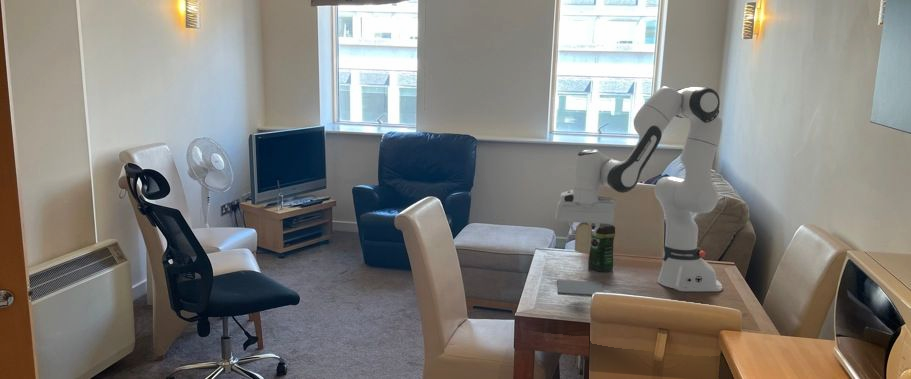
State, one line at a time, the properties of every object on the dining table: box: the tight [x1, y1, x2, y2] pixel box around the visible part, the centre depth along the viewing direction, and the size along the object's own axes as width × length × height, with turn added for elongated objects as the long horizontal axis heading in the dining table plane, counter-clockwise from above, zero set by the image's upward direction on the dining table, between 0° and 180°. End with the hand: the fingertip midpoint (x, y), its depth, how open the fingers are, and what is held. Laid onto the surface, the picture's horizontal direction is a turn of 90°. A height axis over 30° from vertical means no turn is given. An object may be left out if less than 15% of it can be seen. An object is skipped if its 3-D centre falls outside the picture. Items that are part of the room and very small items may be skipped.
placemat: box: [556, 279, 605, 297], centre depth 248 cm, size 16×14×1 cm
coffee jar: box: [587, 223, 616, 273], centre depth 270 cm, size 10×8×19 cm
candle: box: [574, 222, 592, 254], centre depth 244 cm, size 6×6×10 cm
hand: (583, 234), depth 244 cm, fingers closed on candle, 5 cm apart
